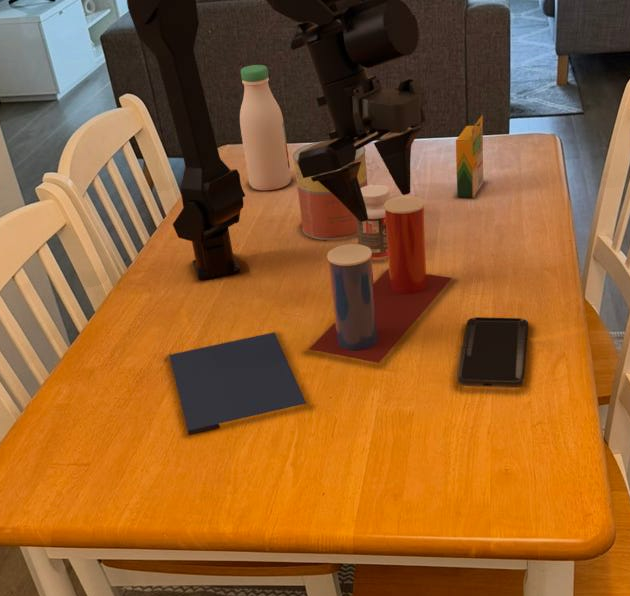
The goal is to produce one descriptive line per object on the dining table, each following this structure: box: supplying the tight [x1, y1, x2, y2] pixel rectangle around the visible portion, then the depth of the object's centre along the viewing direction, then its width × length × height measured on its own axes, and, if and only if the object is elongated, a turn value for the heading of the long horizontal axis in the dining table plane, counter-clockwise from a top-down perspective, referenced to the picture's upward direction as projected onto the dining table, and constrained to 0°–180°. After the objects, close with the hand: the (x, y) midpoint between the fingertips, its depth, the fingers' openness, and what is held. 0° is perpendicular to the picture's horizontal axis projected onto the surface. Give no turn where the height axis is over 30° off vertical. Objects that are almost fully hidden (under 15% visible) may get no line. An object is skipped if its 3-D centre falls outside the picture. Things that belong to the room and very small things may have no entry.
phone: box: [456, 316, 529, 388], centre depth 109 cm, size 8×1×15 cm
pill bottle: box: [356, 184, 391, 260], centre depth 132 cm, size 6×6×10 cm
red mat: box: [308, 268, 452, 364], centre depth 119 cm, size 24×10×1 cm, turn 154°
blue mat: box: [168, 332, 307, 435], centre depth 109 cm, size 18×14×1 cm
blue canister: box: [326, 243, 378, 350], centre depth 110 cm, size 5×5×12 cm
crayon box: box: [455, 114, 484, 199], centre depth 148 cm, size 7×3×12 cm, turn 160°
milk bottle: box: [239, 64, 292, 191], centre depth 155 cm, size 8×8×20 cm
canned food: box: [292, 140, 369, 241], centre depth 141 cm, size 11×11×12 cm
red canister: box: [384, 195, 427, 294], centre depth 121 cm, size 5×5×12 cm
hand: (386, 207), depth 109 cm, fingers open, 9 cm apart
